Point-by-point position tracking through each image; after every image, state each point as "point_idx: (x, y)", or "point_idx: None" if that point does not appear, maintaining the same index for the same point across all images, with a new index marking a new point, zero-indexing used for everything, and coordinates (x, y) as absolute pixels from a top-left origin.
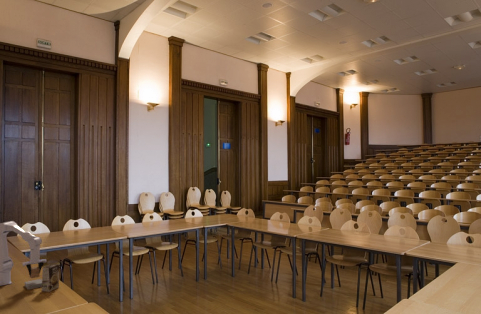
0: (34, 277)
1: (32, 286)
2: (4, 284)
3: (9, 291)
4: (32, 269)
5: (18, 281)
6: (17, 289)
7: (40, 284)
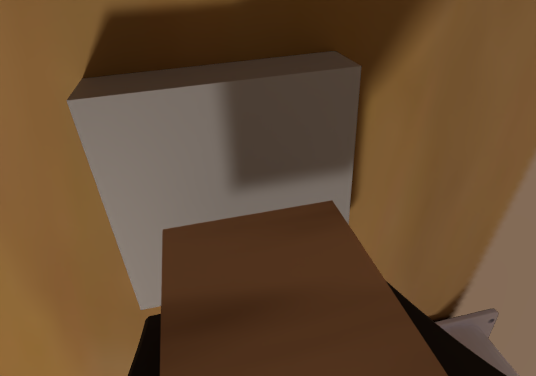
0: (269, 213)
1: (278, 67)
2: (458, 319)
3: (515, 110)
4: None
5: None
6: (428, 137)
7: (141, 84)
